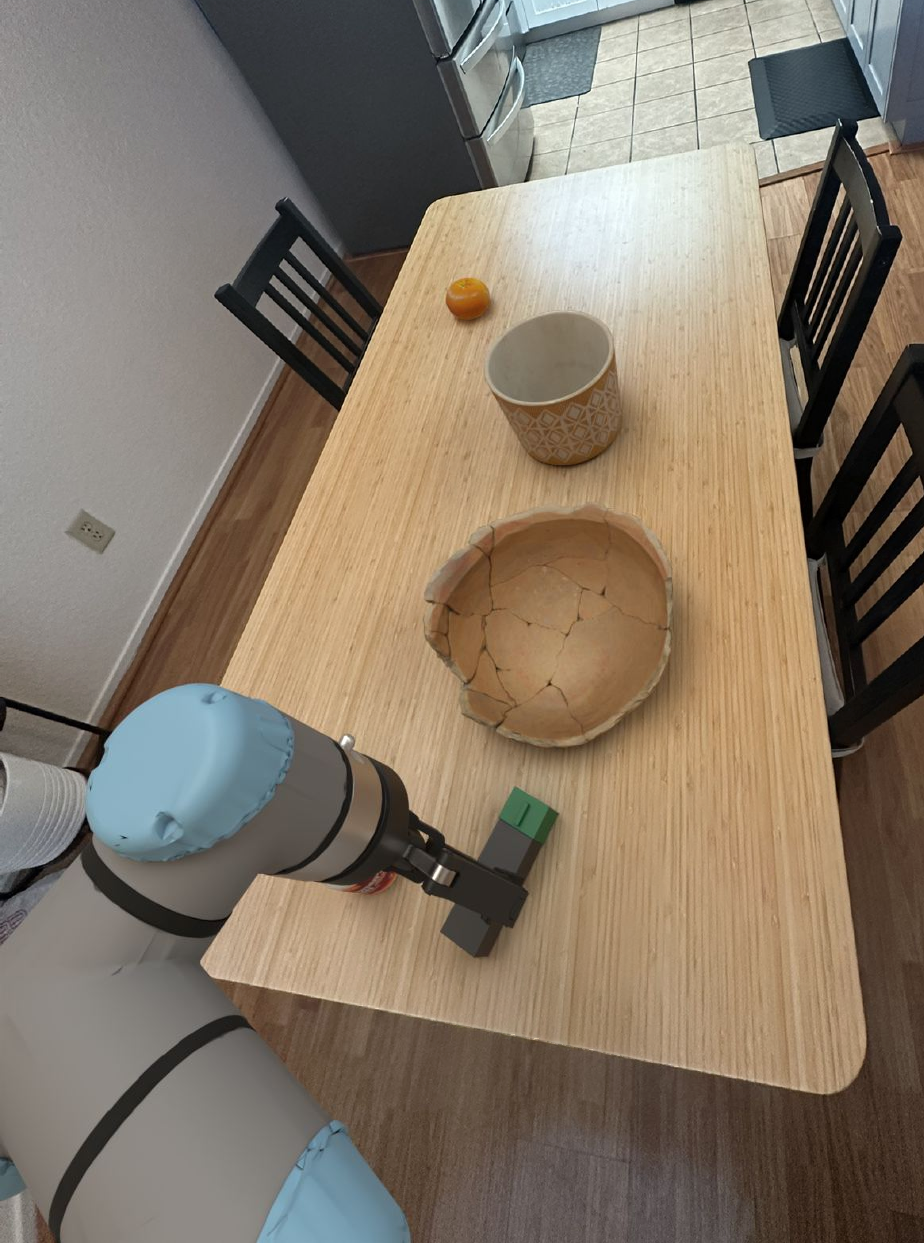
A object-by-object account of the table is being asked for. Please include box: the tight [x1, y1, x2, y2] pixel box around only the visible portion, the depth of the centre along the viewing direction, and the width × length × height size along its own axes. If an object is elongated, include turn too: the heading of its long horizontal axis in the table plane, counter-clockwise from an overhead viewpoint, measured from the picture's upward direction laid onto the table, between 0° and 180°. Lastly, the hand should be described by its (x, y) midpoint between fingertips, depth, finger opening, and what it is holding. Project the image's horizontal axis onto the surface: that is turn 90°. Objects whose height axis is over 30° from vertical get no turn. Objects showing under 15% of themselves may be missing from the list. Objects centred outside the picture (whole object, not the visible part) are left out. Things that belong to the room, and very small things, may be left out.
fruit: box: [445, 277, 491, 321], centre depth 126 cm, size 8×8×8 cm
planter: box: [483, 309, 623, 466], centre depth 99 cm, size 19×19×16 cm
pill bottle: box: [322, 871, 399, 896], centre depth 69 cm, size 6×6×11 cm
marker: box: [439, 785, 560, 959], centre depth 68 cm, size 15×5×5 cm, turn 151°
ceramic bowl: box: [422, 501, 675, 749], centre depth 79 cm, size 30×27×15 cm
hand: (451, 850), depth 57 cm, fingers open, 13 cm apart
